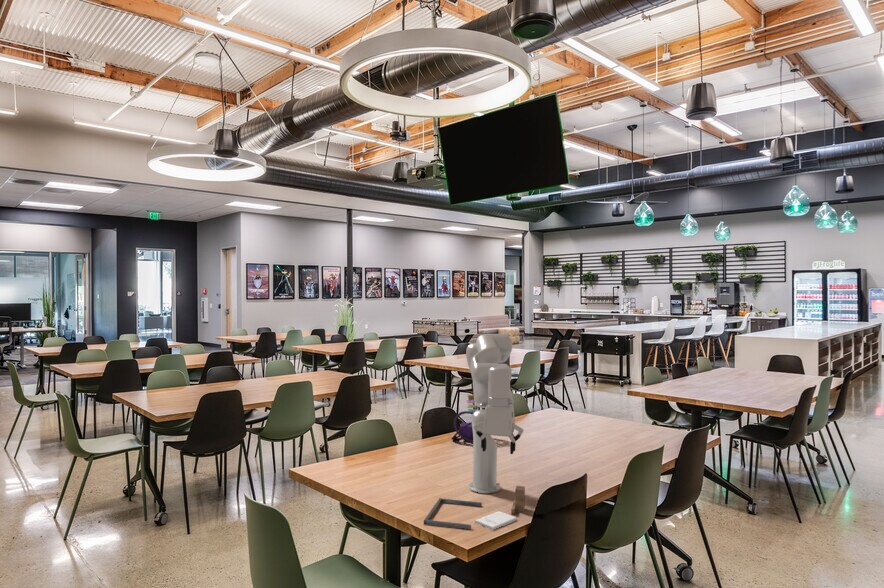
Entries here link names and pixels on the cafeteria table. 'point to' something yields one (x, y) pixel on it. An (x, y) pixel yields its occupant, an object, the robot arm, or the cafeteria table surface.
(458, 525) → the bay
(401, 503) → the cafeteria table surface
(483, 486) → the robot arm
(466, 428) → the decorative bottle
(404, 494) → the cafeteria table surface
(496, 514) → the external hard drive
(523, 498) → the pusher
